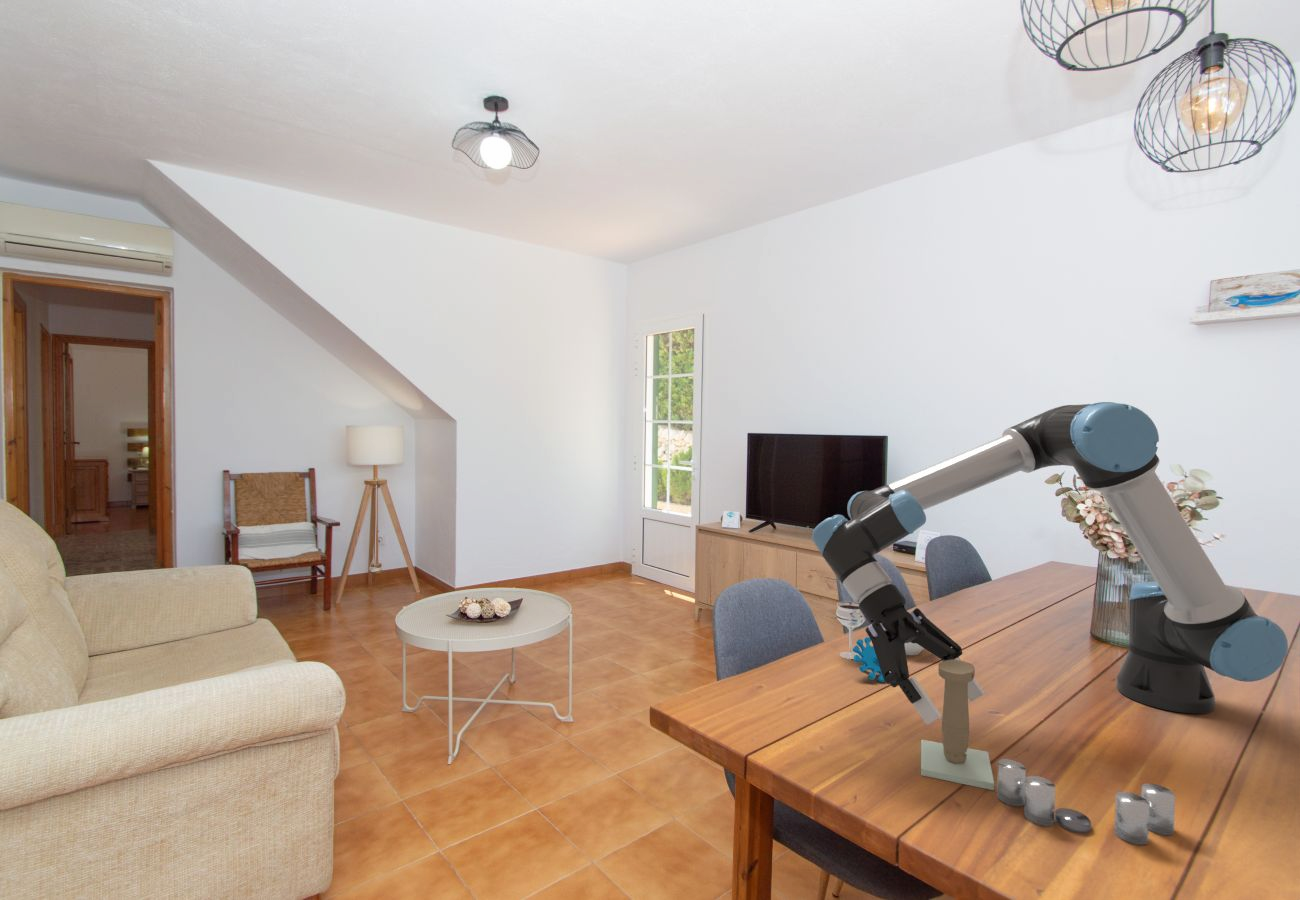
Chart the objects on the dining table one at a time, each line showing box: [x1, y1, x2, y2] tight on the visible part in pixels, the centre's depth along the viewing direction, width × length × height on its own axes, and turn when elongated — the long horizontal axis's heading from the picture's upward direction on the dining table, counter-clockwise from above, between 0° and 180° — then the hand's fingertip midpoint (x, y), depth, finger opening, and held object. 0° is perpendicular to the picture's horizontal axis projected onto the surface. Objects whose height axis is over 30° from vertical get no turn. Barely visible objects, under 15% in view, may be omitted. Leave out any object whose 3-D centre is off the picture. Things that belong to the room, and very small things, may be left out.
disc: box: [1054, 807, 1092, 835], centre depth 85 cm, size 4×4×1 cm
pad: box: [920, 739, 995, 791], centre depth 99 cm, size 10×10×1 cm
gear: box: [851, 636, 891, 683], centre depth 136 cm, size 11×6×10 cm
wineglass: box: [835, 601, 867, 660], centre depth 147 cm, size 7×7×12 cm
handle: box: [938, 659, 976, 764], centre depth 99 cm, size 5×6×15 cm
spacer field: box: [996, 758, 1176, 846], centre depth 86 cm, size 21×8×5 cm, turn 66°
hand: (957, 708), depth 98 cm, fingers open, 13 cm apart
